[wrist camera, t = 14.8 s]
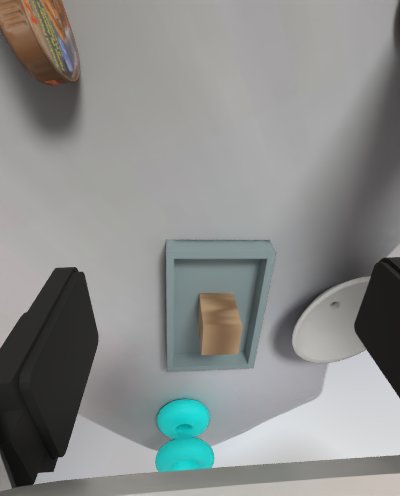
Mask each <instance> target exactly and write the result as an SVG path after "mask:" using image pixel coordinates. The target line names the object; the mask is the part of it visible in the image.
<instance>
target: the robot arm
mask: <svg viewBox="0 0 400 496" xmlns="http://www.w3.org/2000/svg"><path fill="white" fill-rule="evenodd" d="M354 329H355V333H356V335H357V336H358V338H359V339H360V340H361V342H362V343H363V345H364V346H365V348H366V349H367V351H368V352H369V353H370V355H371V356H372V358H373V359H374V361H375V362H376V364H377V365H378V367H379V368H380V370H381V371H382V373H383V374H384V375H385V377H386V379H387V380H388V381H389V383H390V384H391V386H392V387H393V389H394V390H395V392H396V393H397V395H398V396H399V398H400V257H394V258H383V259H381V260H380V261H379V262H378V263H376V264H375V266H374V269H373V272H372V274H371V277H370V280H369V283H368V286H367V289H366V292H365V294H364V297H363V300H362V303H361V306H360V309H359V311H358V314H357V317H356V320H355V323H354ZM97 346H98V331H97V327H96V323H95V318H94V314H93V310H92V305H91V301H90V296H89V292H88V288H87V283H86V279H85V275H84V273H83V272H78V269H77V268H76V267H67V268H55V270H54V271H53V272H52V274H51V276H50V277H49V279H48V280H47V282H46V283H45V285H44V287H43V288H42V290H41V291H40V293H39V294H38V296H37V298H36V299H35V301H34V302H33V304H32V305H31V307H30V309H29V310H28V312H26V313H24V314H23V315H22V316H21V317H20V319H19V320H18V322H17V324H16V325H15V327H14V328H13V330H12V331H11V333H10V334H9V336H8V337H7V339H6V340H5V342H4V344H3V345H2V347H1V348H0V496H400V455H398V456H382V457H381V456H380V457H366V458H351V459H337V460H321V461H307V462H292V463H279V464H263V465H249V466H235V467H221V468H208V469H194V470H181V471H167V472H154V473H141V474H129V475H118V476H107V477H96V478H85V479H75V480H64V481H56V482H49V483H42V484H36V485H33V484H34V482H35V480H36V477H37V474H38V473H42V472H53V471H54V468H55V465H56V462H57V459H58V457H63V456H64V455H65V453H66V450H67V447H68V443H69V440H70V437H71V434H72V430H73V427H74V423H75V420H76V417H77V413H78V410H79V407H80V403H81V400H82V397H83V393H84V390H85V387H86V383H87V380H88V376H89V373H90V370H91V366H92V363H93V360H94V356H95V353H96V350H97Z"/></svg>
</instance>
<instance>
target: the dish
mask: <svg viewBox="0 0 400 496" xmlns="http://www.w3.org/2000/svg"><path fill="white" fill-rule="evenodd" d="M370 277H371V276H366V277H360V278H356V279H353V280H350V281H347V282H343V283H340V284H338V285H336V286H333V287H331V288H330V289H328V290H326V291H325V292H323V293H322V294H320V295H319V296H318V297H317V298H316V299H315V300H314V301H313V302H312V303H311V304H310V305H309V306H308V307H307V309H306V310H305V311H304V312H303V314H302V315H301V316H300V318H299V319H298V321H297V323H296V325H295V327H294V329H293V333H292V346H293V349H294V351H295V352H296V354H297V355H298V356H299V357H301V358H302V359H304V360H306V361H309V362H314V363H330V362H336V361H340V360H344V359H347V358H349V357H352V356H354V355H357V354H359V353H361V352H363V351H365V350H367V349H366V348H365V346H364V345H363V343H362V342H361V340H360V339H359V338H358V336H357V335H356V333H355V329H354V323H355V320H356V317H357V314H358V311H359V309H360V306H361V303H362V300H363V297H364V294H365V292H366V289H367V286H368V283H369V280H370ZM333 302H335V303H334V304H333V305H331V304H332V303H333Z"/></svg>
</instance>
